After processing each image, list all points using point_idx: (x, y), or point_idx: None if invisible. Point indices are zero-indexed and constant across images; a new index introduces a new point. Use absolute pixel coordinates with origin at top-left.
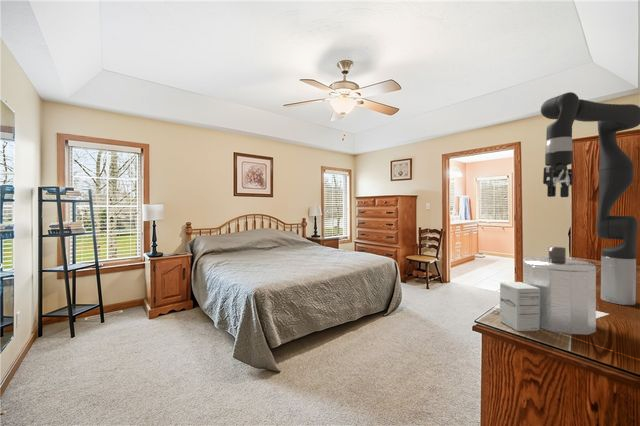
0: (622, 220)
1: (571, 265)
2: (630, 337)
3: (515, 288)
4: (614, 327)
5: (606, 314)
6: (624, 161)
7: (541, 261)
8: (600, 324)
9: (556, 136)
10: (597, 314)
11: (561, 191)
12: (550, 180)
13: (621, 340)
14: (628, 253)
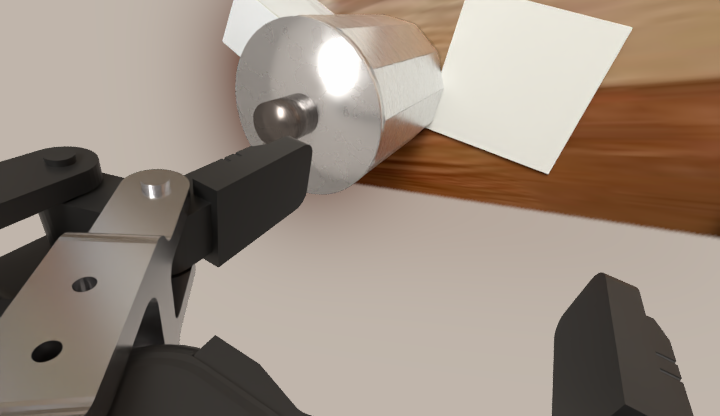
0: None
1: None
2: (406, 187)
3: (224, 35)
4: (448, 172)
5: (537, 168)
6: None
7: (281, 76)
8: (449, 152)
9: None
10: (519, 151)
11: (599, 338)
12: (46, 244)
13: (379, 174)
14: None
